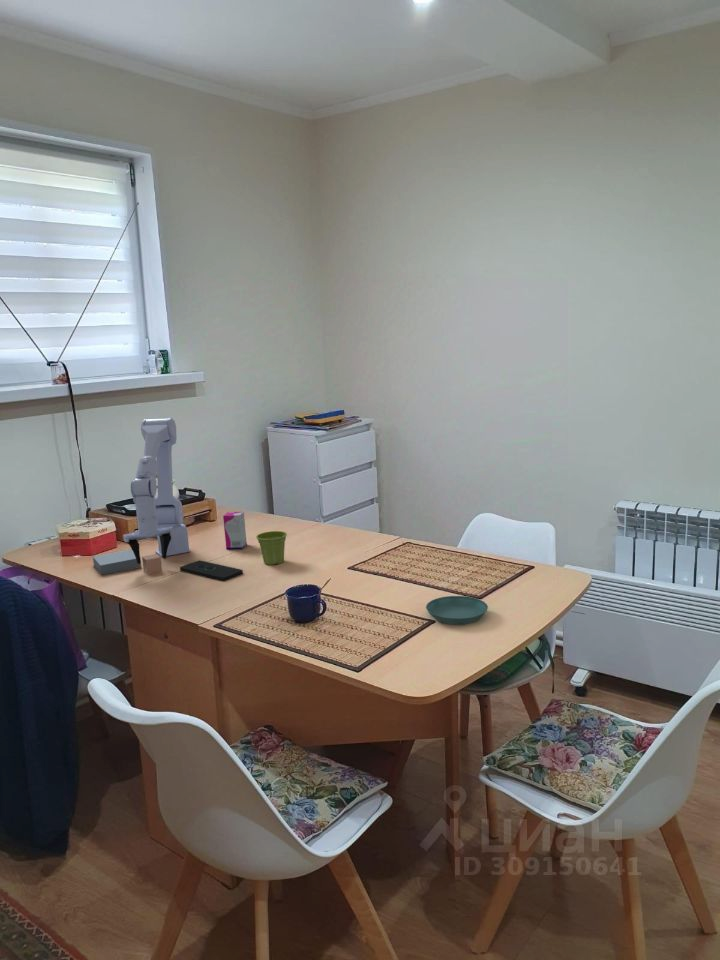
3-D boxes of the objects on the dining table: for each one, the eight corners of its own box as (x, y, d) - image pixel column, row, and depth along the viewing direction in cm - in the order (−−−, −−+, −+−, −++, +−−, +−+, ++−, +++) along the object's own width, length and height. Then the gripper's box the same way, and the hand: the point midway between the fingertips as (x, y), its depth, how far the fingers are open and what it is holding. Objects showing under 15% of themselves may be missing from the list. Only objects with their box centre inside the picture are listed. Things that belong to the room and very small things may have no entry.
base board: (132, 558, 245) (131, 549, 244) (141, 567, 234) (140, 557, 234) (93, 565, 239) (92, 556, 238) (101, 574, 229) (100, 565, 228)
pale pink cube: (158, 567, 233) (156, 553, 232) (162, 571, 229) (160, 557, 229) (143, 570, 231) (142, 556, 230) (147, 574, 227) (145, 559, 226)
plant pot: (252, 565, 230) (250, 538, 228) (267, 556, 238) (265, 530, 237) (279, 567, 226) (277, 540, 225) (294, 558, 235) (292, 531, 233)
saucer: (445, 633, 172) (445, 622, 172) (415, 612, 186) (415, 602, 185) (500, 620, 178) (500, 610, 178) (467, 601, 191) (467, 591, 191)
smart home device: (199, 559, 235) (244, 569, 223) (200, 564, 235) (244, 575, 223) (178, 566, 229) (222, 577, 216) (178, 572, 229) (223, 583, 217)
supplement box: (247, 544, 254) (244, 510, 252) (242, 549, 248) (240, 515, 246) (230, 544, 255) (227, 511, 252) (225, 549, 249) (222, 515, 247)
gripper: (125, 523, 220) (130, 568, 223) (174, 515, 227) (178, 559, 230) (120, 519, 226) (125, 562, 229) (168, 511, 233) (172, 553, 236)
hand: (151, 560), depth 230 cm, fingers open, 7 cm apart
